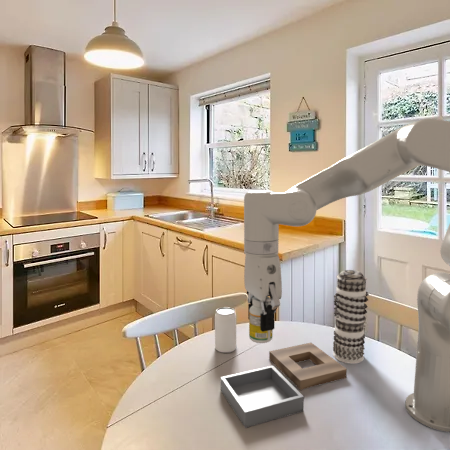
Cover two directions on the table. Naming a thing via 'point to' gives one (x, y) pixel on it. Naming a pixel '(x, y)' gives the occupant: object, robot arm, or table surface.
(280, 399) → the tray
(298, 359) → the brown wooden square frame
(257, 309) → the supplement bottle
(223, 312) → the can
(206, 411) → the table surface
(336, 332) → the decorative candle
